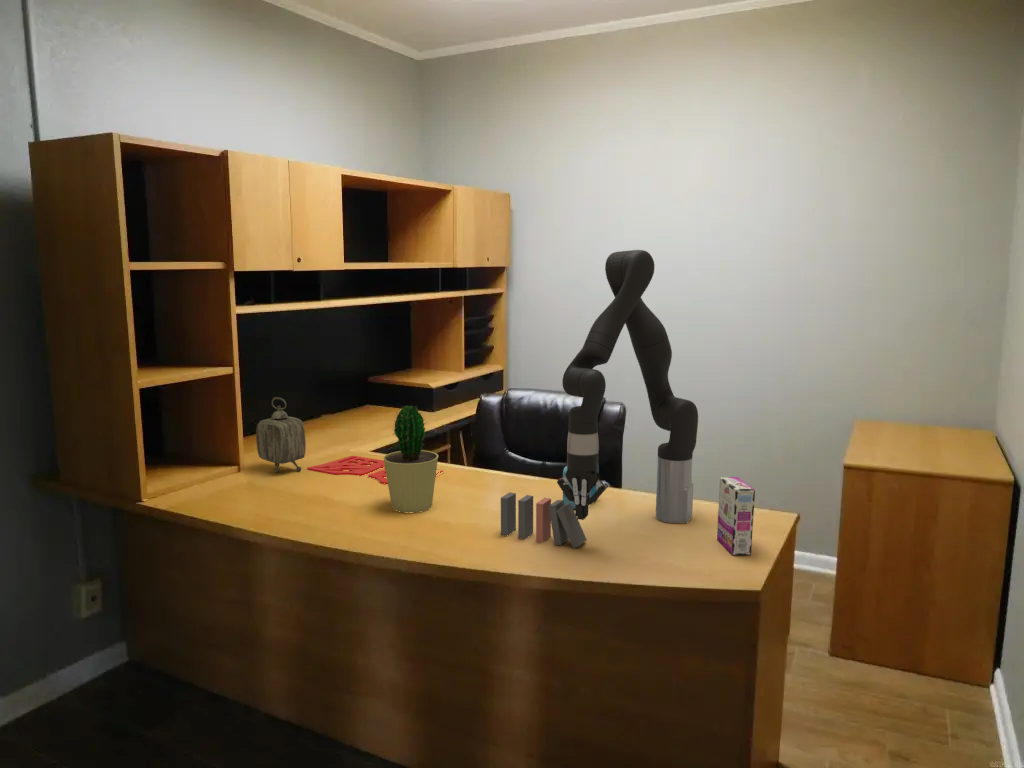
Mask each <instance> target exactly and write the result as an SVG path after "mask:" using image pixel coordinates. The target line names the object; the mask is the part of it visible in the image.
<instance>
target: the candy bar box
mask: <svg viewBox="0 0 1024 768" xmlns="http://www.w3.org/2000/svg"><path fill="white" fill-rule="evenodd" d="M718 492H719V493H718V509H717V510H718V512H717V513H718V514H717V531H716V540H717V541H718V543H720V544H721V545H722V547H724V548H725V549H726V550H727V552H729V554H731V555H732V556H751V555H752V548H753V547H752V545H753V543H752V542H753V528H754V526H753V525H754V513H755V500H756V499H755V497H756V489H755V488H754V487H752V486H751V485H750V484H748V483H747V482H745V481H744V480H742V479H741V478H740V477H738V476H730V477H729V476H726V477H725V476H723V477H719V491H718Z"/></svg>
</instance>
